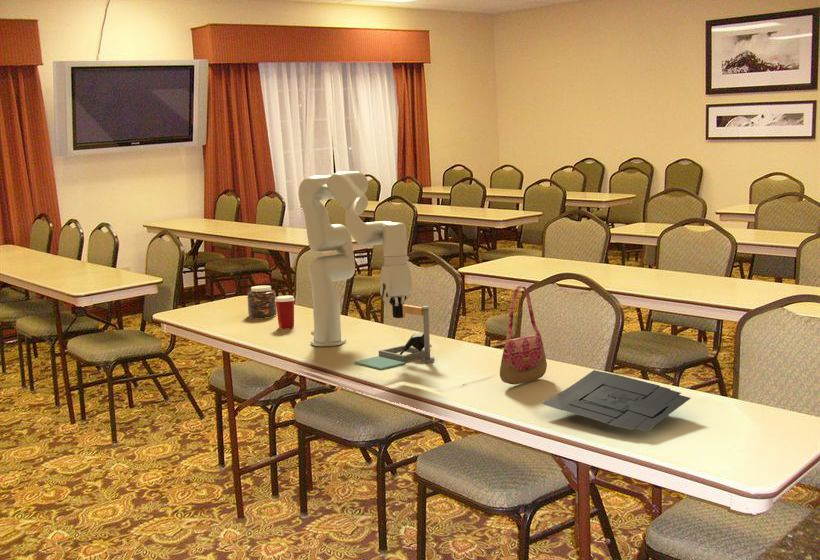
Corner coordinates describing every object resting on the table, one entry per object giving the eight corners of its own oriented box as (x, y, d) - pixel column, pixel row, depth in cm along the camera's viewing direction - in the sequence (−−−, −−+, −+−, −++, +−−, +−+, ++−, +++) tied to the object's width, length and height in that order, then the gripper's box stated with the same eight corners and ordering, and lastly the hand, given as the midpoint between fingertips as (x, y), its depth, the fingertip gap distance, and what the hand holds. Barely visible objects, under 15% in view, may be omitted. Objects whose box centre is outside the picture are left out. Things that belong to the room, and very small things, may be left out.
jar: (278, 319, 371) (276, 284, 369) (275, 324, 359) (273, 288, 357) (250, 320, 370) (248, 285, 368) (247, 325, 358) (244, 289, 356)
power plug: (399, 349, 293) (418, 326, 287) (417, 362, 294) (437, 338, 288) (396, 358, 288) (415, 334, 282) (414, 371, 289) (434, 347, 283)
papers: (643, 445, 203) (642, 431, 202) (541, 413, 224) (540, 400, 223) (695, 404, 219) (695, 391, 217) (595, 378, 240) (594, 366, 239)
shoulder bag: (506, 387, 246) (504, 290, 242) (499, 385, 248) (496, 289, 244) (547, 376, 256) (545, 283, 252) (540, 375, 258) (538, 282, 255)
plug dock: (378, 356, 291) (376, 305, 289) (403, 351, 298) (401, 300, 296) (417, 365, 276) (415, 311, 274) (443, 359, 283) (441, 306, 281)
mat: (354, 363, 283) (354, 361, 283) (378, 358, 289) (378, 356, 289) (381, 370, 272) (380, 368, 272) (405, 364, 279) (405, 362, 278)
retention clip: (396, 318, 288) (396, 303, 288) (402, 316, 290) (402, 301, 289) (425, 323, 277) (425, 307, 276) (431, 321, 279) (431, 306, 278)
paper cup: (300, 330, 342) (298, 295, 340) (287, 334, 335) (285, 298, 333) (285, 329, 346) (283, 294, 344) (272, 333, 340) (270, 297, 338)
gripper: (405, 258, 285) (407, 313, 288) (369, 262, 276) (372, 319, 278) (420, 259, 280) (422, 315, 282) (384, 264, 270) (387, 322, 273)
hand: (397, 317), depth 280 cm, fingers closed
